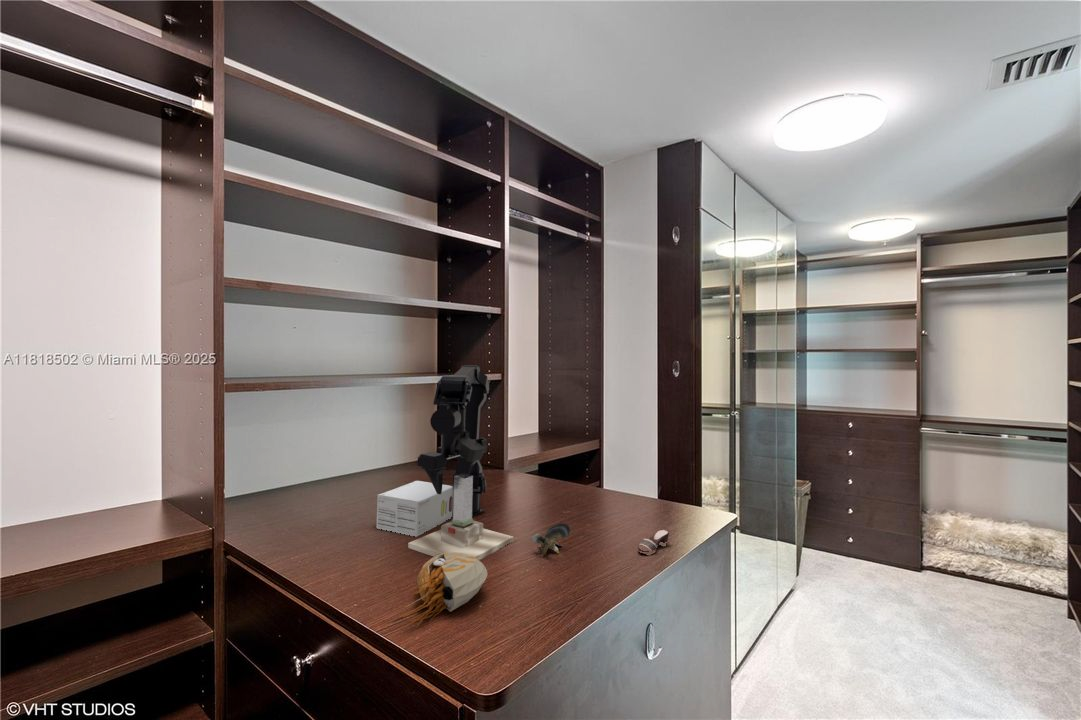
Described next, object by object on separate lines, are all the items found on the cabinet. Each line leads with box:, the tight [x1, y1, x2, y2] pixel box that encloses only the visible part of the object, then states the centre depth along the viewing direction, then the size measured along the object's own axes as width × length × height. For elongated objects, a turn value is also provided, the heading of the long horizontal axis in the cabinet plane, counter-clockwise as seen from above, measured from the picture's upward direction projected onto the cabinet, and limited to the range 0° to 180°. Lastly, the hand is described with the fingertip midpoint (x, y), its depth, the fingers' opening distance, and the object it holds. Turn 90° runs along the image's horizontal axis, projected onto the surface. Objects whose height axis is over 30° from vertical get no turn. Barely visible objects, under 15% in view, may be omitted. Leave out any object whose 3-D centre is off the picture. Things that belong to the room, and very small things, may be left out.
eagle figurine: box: [531, 522, 571, 557], centre depth 118 cm, size 8×7×9 cm
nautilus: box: [399, 552, 488, 627], centre depth 93 cm, size 8×22×15 cm
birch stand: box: [407, 520, 514, 561], centre depth 120 cm, size 18×18×5 cm
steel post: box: [451, 474, 474, 527], centre depth 120 cm, size 4×4×12 cm
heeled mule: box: [637, 529, 670, 552], centre depth 121 cm, size 4×11×4 cm, turn 131°
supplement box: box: [375, 480, 454, 538], centre depth 135 cm, size 17×13×9 cm
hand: (451, 489), depth 122 cm, fingers open, 9 cm apart
